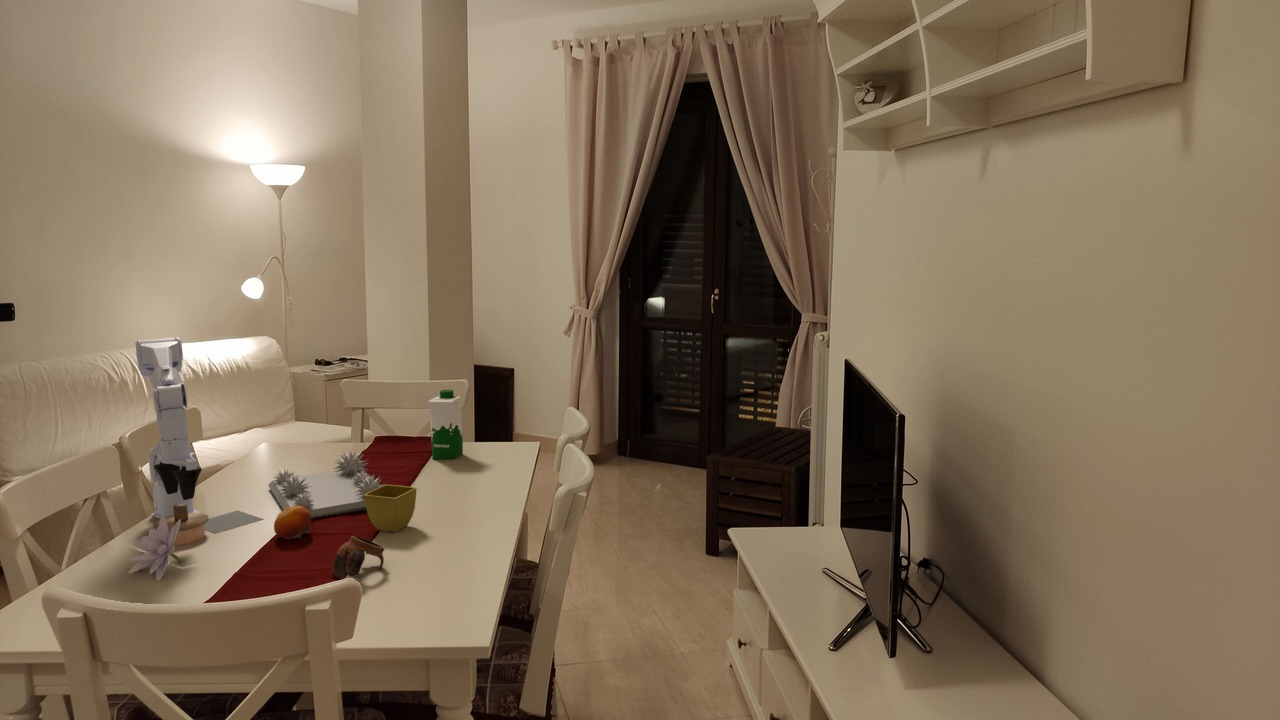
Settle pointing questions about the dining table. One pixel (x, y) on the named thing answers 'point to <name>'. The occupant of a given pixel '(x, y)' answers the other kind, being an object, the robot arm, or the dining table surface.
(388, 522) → the flower pot
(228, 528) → the mat
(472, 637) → the dining table surface
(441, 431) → the milk carton
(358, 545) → the pottery mug
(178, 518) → the lid
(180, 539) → the bowl
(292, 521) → the fruit
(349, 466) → the decorative tray
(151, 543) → the water lily
